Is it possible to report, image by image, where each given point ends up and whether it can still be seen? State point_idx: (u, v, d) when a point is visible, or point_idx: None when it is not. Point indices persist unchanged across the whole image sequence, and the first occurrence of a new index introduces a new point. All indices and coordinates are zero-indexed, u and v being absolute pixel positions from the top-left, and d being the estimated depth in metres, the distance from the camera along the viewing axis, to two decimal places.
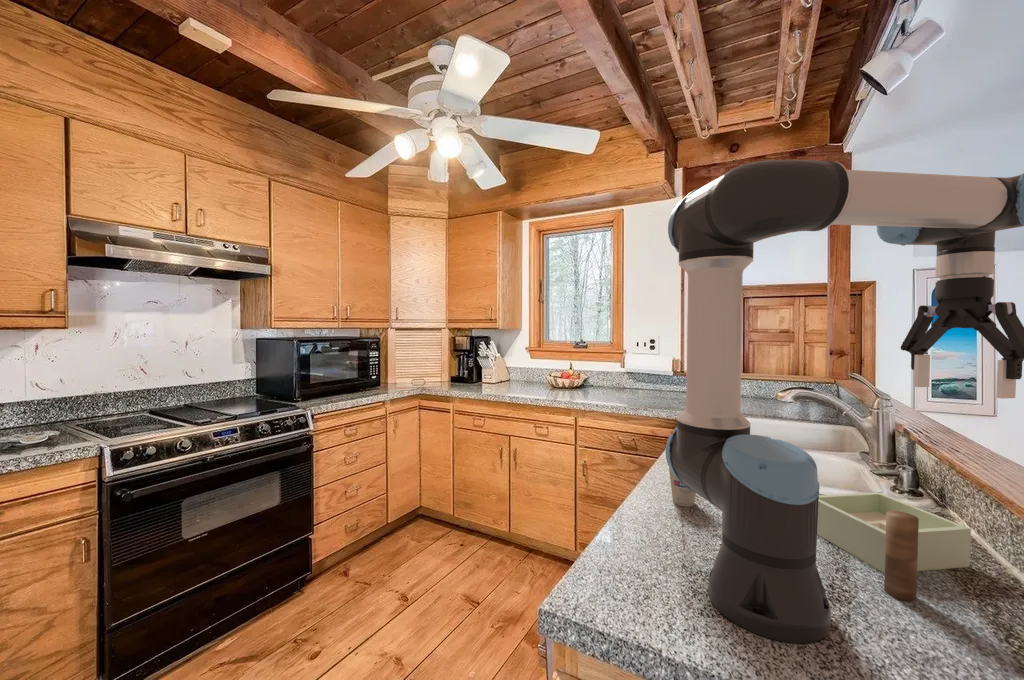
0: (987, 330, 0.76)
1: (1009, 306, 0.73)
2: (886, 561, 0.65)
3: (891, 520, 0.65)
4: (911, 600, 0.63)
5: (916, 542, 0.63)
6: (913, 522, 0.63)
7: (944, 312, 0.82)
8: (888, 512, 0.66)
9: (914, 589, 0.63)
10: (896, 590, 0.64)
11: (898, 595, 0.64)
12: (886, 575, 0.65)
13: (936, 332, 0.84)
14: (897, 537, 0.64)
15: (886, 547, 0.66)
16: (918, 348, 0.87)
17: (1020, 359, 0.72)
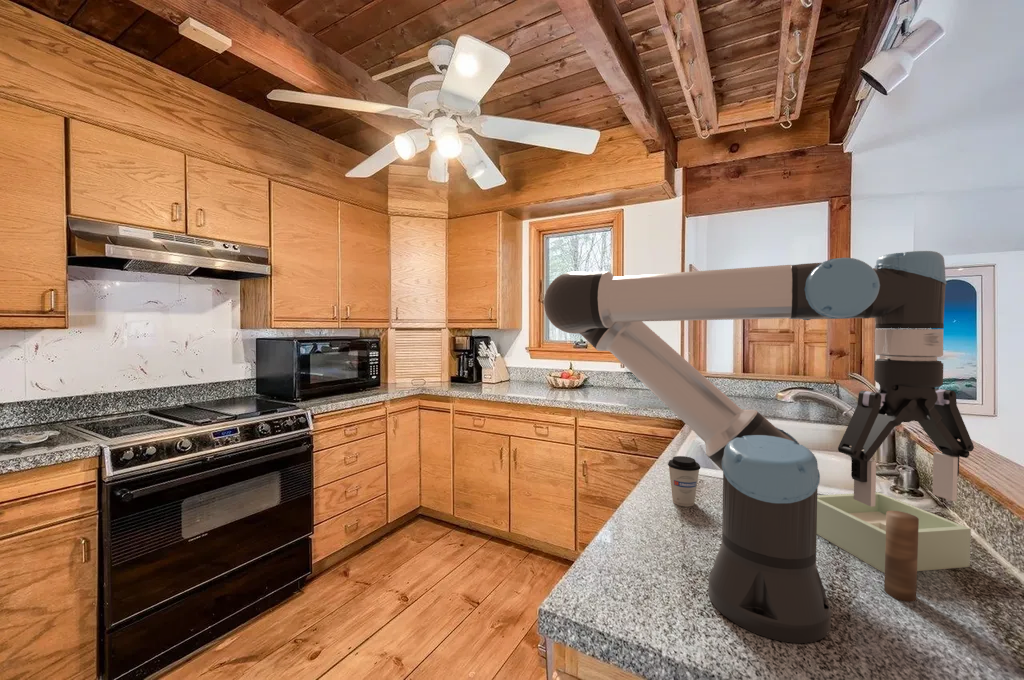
0: None
1: (865, 397, 0.63)
2: (886, 561, 0.65)
3: (891, 520, 0.65)
4: (911, 600, 0.63)
5: (916, 542, 0.63)
6: (913, 522, 0.63)
7: None
8: (888, 512, 0.66)
9: (914, 589, 0.63)
10: (896, 590, 0.64)
11: (898, 595, 0.64)
12: (886, 575, 0.65)
13: (920, 423, 0.66)
14: (897, 537, 0.64)
15: (886, 547, 0.66)
16: None
17: (853, 457, 0.63)
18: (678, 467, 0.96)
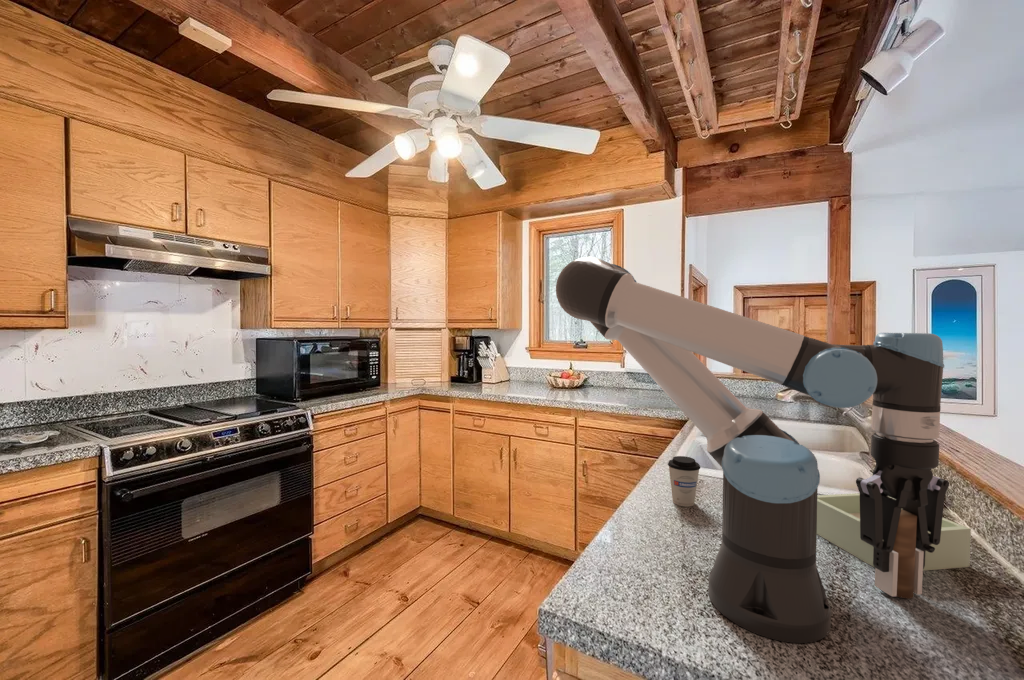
0: None
1: (863, 487, 0.64)
2: None
3: None
4: (908, 597, 0.64)
5: (914, 539, 0.63)
6: (911, 519, 0.63)
7: None
8: None
9: (911, 586, 0.64)
10: None
11: None
12: None
13: None
14: (896, 534, 0.64)
15: None
16: None
17: None
18: (678, 467, 0.96)
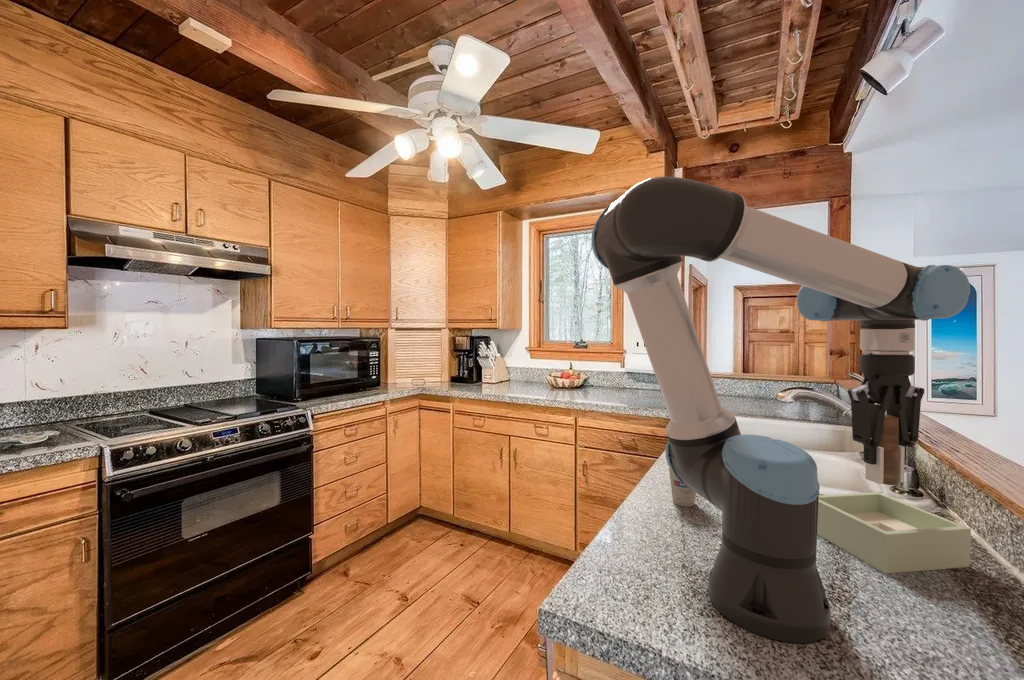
0: None
1: (854, 395, 0.78)
2: None
3: None
4: (893, 483, 0.77)
5: (897, 436, 0.77)
6: (894, 419, 0.77)
7: None
8: None
9: (896, 475, 0.77)
10: None
11: (883, 480, 0.78)
12: None
13: (887, 410, 0.80)
14: (882, 433, 0.78)
15: None
16: None
17: (865, 444, 0.78)
18: None
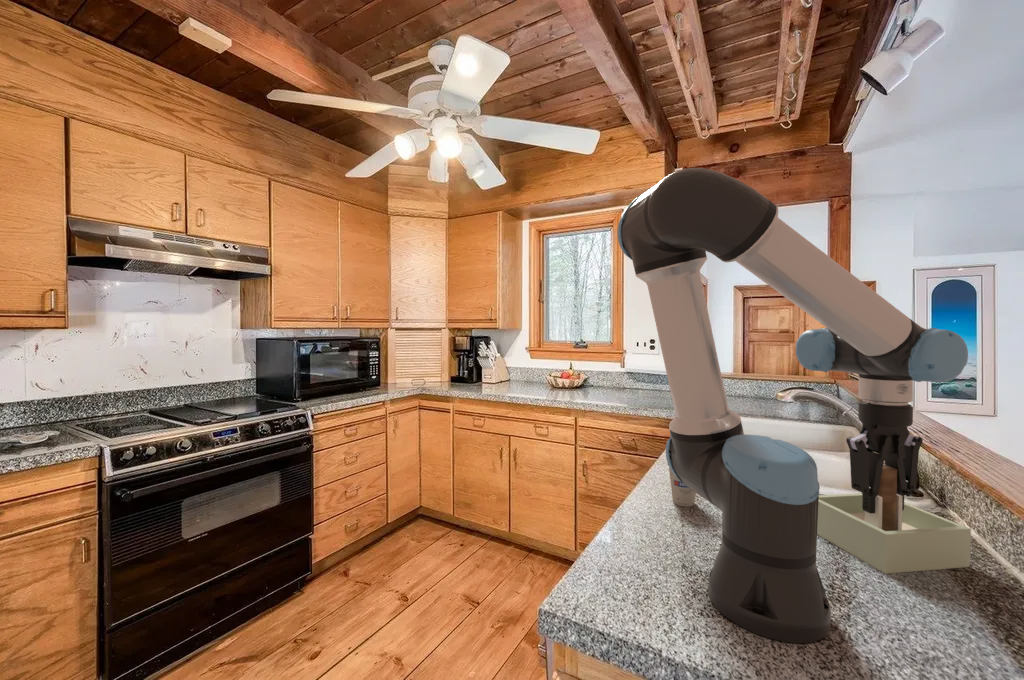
0: None
1: (852, 444, 0.78)
2: None
3: None
4: None
5: (895, 488, 0.77)
6: (892, 472, 0.77)
7: None
8: None
9: (894, 527, 0.78)
10: None
11: None
12: None
13: (885, 458, 0.80)
14: (880, 485, 0.78)
15: None
16: None
17: (864, 493, 0.79)
18: None
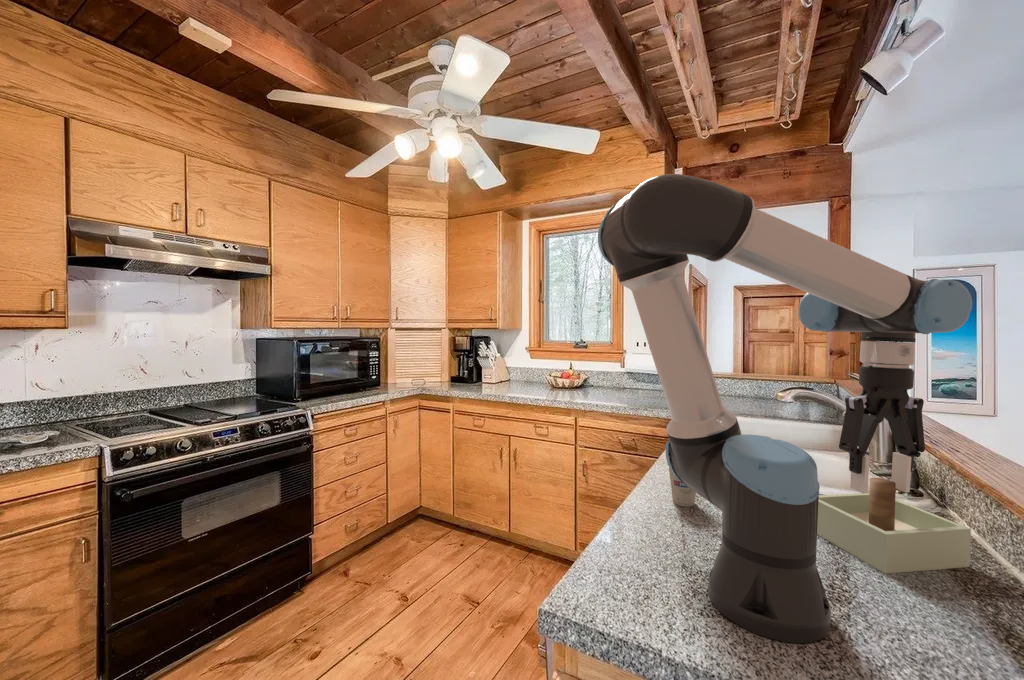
0: None
1: (851, 402, 0.78)
2: (869, 519, 0.80)
3: (873, 485, 0.79)
4: None
5: (893, 502, 0.77)
6: (891, 485, 0.77)
7: None
8: (871, 479, 0.80)
9: None
10: None
11: None
12: None
13: (889, 422, 0.80)
14: (878, 498, 0.78)
15: (869, 507, 0.80)
16: None
17: (851, 453, 0.78)
18: None
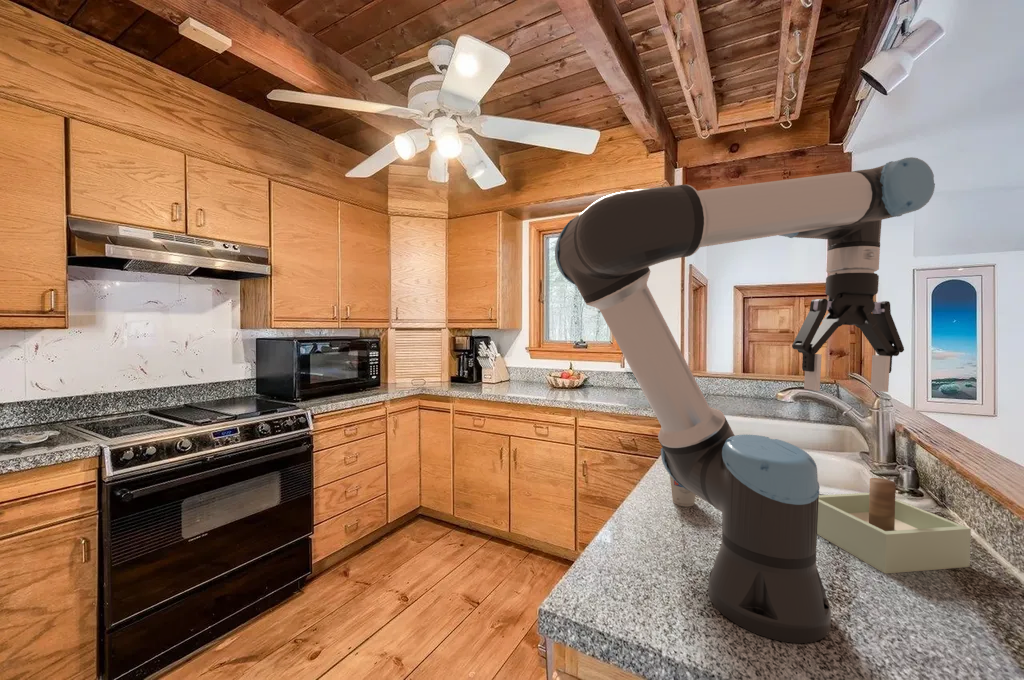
0: (820, 326, 0.79)
1: (815, 303, 0.78)
2: (869, 519, 0.80)
3: (873, 485, 0.79)
4: None
5: (893, 502, 0.77)
6: (891, 486, 0.77)
7: None
8: (871, 479, 0.80)
9: None
10: None
11: None
12: None
13: (861, 330, 0.80)
14: (878, 498, 0.78)
15: (869, 507, 0.80)
16: None
17: (803, 352, 0.78)
18: None
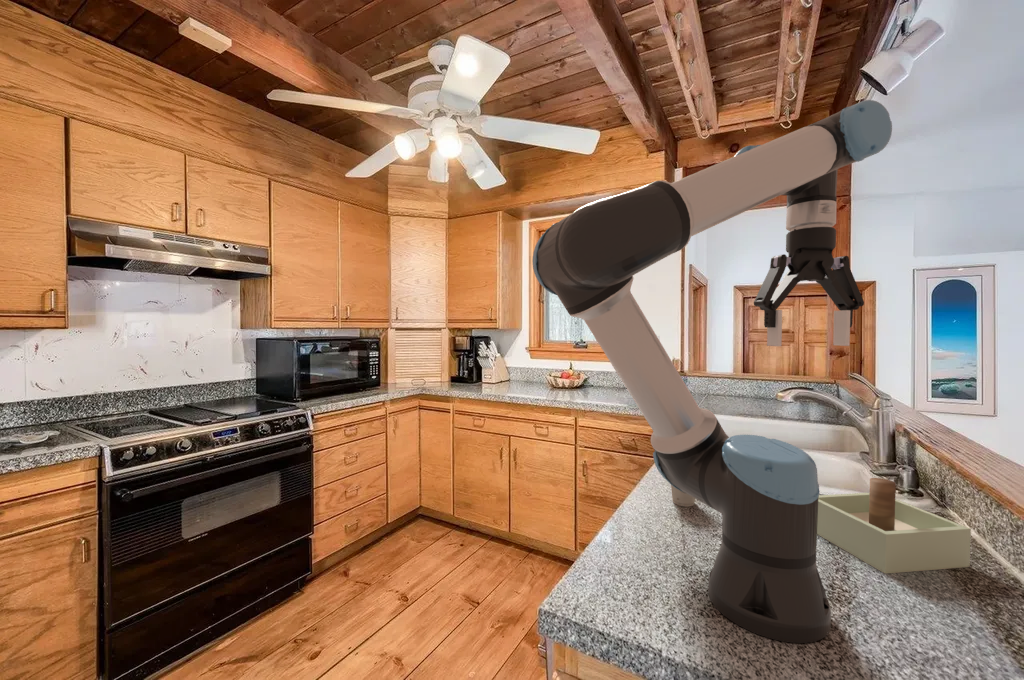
0: (781, 283, 0.80)
1: (775, 259, 0.78)
2: (869, 519, 0.80)
3: (873, 485, 0.79)
4: None
5: (893, 502, 0.77)
6: (891, 486, 0.77)
7: None
8: (871, 479, 0.80)
9: None
10: None
11: None
12: None
13: (822, 285, 0.81)
14: (878, 498, 0.78)
15: (869, 507, 0.80)
16: None
17: (765, 308, 0.78)
18: None
